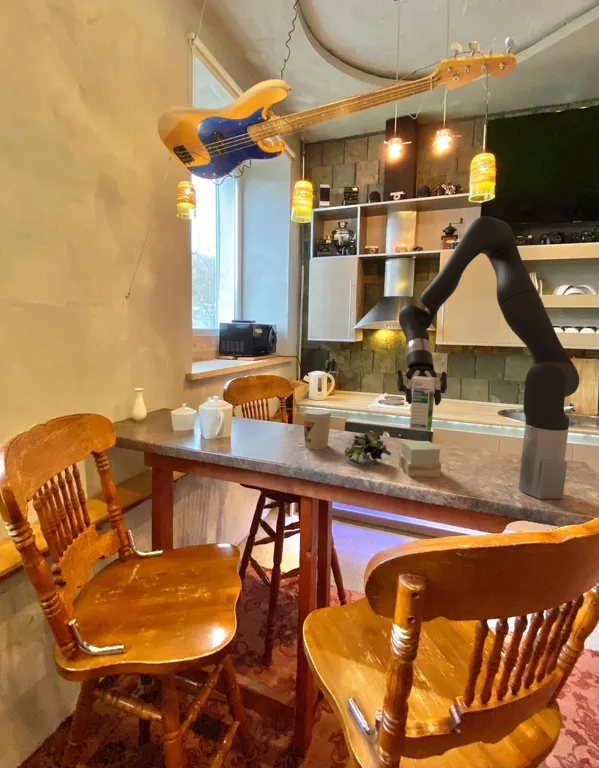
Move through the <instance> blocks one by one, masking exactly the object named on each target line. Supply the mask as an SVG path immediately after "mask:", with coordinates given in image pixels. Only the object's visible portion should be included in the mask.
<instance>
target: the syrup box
mask: <svg viewBox="0 0 599 768" xmlns="http://www.w3.org/2000/svg"><path fill="white" fill-rule="evenodd" d="M435 380H436V377H422V376H414V378H413V384H412V389H411V394H412V402H411V404H410V405H411V406H410V419H409V429H410V430H420V431H428V432H431V430H432V427H433V416H434V415H433V413H434V405H435V399H434V390H435Z"/></svg>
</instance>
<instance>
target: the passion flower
mask: <svg viewBox="0 0 599 768" xmlns="http://www.w3.org/2000/svg"><path fill="white" fill-rule="evenodd" d="M353 441H354V442H352V444H351V447H348V446H347V447H346V449H345V450H344V451H343V453H344V454H345V455H344V457H345V458H348V459H349V460H350V459H351V458H352V457H353V456H354V455H355V460H356V462H359V458H360V456H362V457H361V458H362V464H361V466H362V467H363V466H364V464H365V462H366V461H367V460H368V459H370V457H371V459H372V460H374V461H376V460H382V459H383V457H382V454H385V455H387V456H391V455H392V453H391V451H389V450H388V449H387V446H386V445H385V444H384V441H383V440H382V439H381V436H380V434H379V433H378V434H377V433H375V432H374V431H372V432H365V433H364V434H361V435H356V434H354V435H353ZM361 466H360V467H361Z"/></svg>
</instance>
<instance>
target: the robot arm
mask: <svg viewBox="0 0 599 768" xmlns="http://www.w3.org/2000/svg"><path fill="white" fill-rule="evenodd" d="M480 254H483V255H485V256H486V257H487V259H488V261H489V262H490V264H491V266H492V268H493V270H494V273H495V276H496V300H497V304H498V306H499V309H500V311H501V313H502V316H503V318H504V320H505V322H506V324H507V326H508V327H509V328H510V329H511V331H512V332H513V333H514V334H515V335H516V336H517V337H518V339H519V340H520V341H522V343H523V344H524V346H526V348H527V349H528V351H529V352H530V355H531V356H532V358H533V361H534V363H535V364H533V365H532V366H531V367H530V368H529V370H528V371H527V373H526V377H525V381H524V391H523V392H524V393H523V407H522V408H523V413H524V416H525V422H524V423H525V425H524V433H523V443H522V451H521V459H520V460H521V461H520V469H519V470H520V471H519V481H518V489H519V490H520V491H521V492H522V493H524V494H526V495H529V496H532V497H535V498H536V499H538V500H563V499H564V494H565V485H566V476H567V468H568V467H567V466H568V462H567V460H566V453H567V445H568V439H569V438H568V436H569V435H568V434H569V428H570V417H569V416H568V415H567V414H566V413H565V399H566V398H567V397H570V396H572V395H573V394H574V393H576V391H577V390H578V388H579V385H580V374H579V371H578V369H577V367H576V365H575V364H574V362H573V361H572V359H571V357H570V356H569V355H568V352H566V349H565V348H564V346H563V345H562V342H561V341H560V339H559V337H558V335H557V333H556V331H555V328H554V326H553V323H552V321H551V319H550V316H549V314H548V312H547V310H546V307H545V305H544V303H543V300H542V298H541V296H540V294H539V292H538V290H537V288H536V286H535V284H534V282H533V280H532V277H531V275H530V273H529V271H528V270H527V267H526V265H525V263H524V261H523V259H522V257H521V254H520V251H519V248H518V245H517V242H516V238H515V235H514V232H513V229H512V228H511V226H510V224H508V223H507V222H506V221H504V220H502V219H499V218H496V217H492V216H489V215H484V216H481V217H478V218H477V219H475V220H474V221H472V222H471V224H470V225H469V226H468V228H467V229H466V231H465V232H464V233H463V235H462V237H461V239H460V240H459V242H458V243H457V245H456V247H455V248H454V250H453V252H452V253H451V255H450V257H449V258H448V259H447V261H446V262H445V264H444V265H443V267H442V269H441V270H440V271H439V273H438V274H436V276H435V277H434V279H432V281H431V283H429V285H428V286H427V287H426V288H425V289H424V291H423V292H422V293H421V294H420V298H419V300H420V303H422V305H423V306H424V307H425V308H422V307H419V306H418V305H415V304H411V303H407V304H405V305H404V306H403V307H402V308H401V309H400V310H399V314H398V322H399V323H398V324H399V326H400V329H401V331H402V333H403V335H404V337H405V346H406V347H405V348H406V349H405V360H406V371H402V370H401V369H399V370H397V373H396V383H397V389H398V392H400V393H401V392H403V393H404V396H405V402H406V403H407V404H408V405H411V402H412V384H413V378H414V376H422V377H435V390H434V405H435V406H439V404H441V402H442V395H441V394H445V393H446V392H447V391H446V390H447V388H448V383H447V382H448V381H447V372H446V371H442V372H441V373H440V372H436V370H435V365H434V359H433V358H434V357H433V350H432V346H431V342H430V340H431V339H430V334H429V332H428V329H429V328H430V327H431V325H432V324H433V321H434V319H435V317H436V315H437V314H438V312H439V311H440V309H441V307H442V306H443V304H445V302H446V301H448V299H449V298H450V297H451V296H452V295H453V294H454V292H455V291H456V289H457V287H458V286H459V283H460V281H461V278H462V276H463V273H464V272H465V270H466V269H467V267H468V266H469V264H470V263H471V262H473V261H474V259H475V258H477V257H478V256H479V255H480ZM405 377H406V378H407V379H408V380H409V381H408V383H407V384H406V385H405V384H404V380H405ZM436 379H437V380H438V382H439V383H440V385H438V382H437V380H436Z"/></svg>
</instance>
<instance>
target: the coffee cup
mask: <svg viewBox="0 0 599 768" xmlns="http://www.w3.org/2000/svg"><path fill="white" fill-rule="evenodd" d="M302 415H303V432H304V433H303V435H304V446H305V447H306V448H307V449H311V450H323V449H326V448H328V446H329V445H328V444H329V435H330V434H329V433H330V427H331V425H330V424H331V416H332V413H331V411H330V410H329V409H323V408H322V409H321V408H311V409H310V408H309V409H308V408H307V409H305V410H304V411H303V413H302Z"/></svg>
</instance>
